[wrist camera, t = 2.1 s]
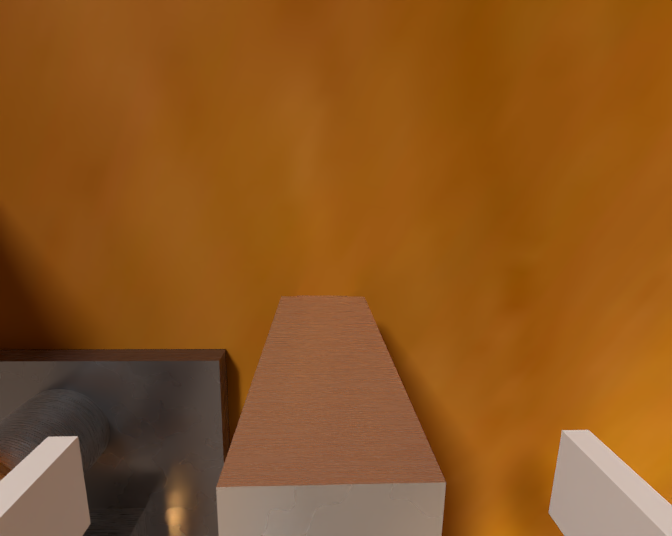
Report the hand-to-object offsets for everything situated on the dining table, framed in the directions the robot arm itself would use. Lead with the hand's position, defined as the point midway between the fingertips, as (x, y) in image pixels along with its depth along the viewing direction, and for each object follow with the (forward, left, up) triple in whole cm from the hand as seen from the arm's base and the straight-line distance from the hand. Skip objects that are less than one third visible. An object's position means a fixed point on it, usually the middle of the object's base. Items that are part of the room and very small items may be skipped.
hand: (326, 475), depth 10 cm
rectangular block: (0, 0, -12) cm, 12 cm away
